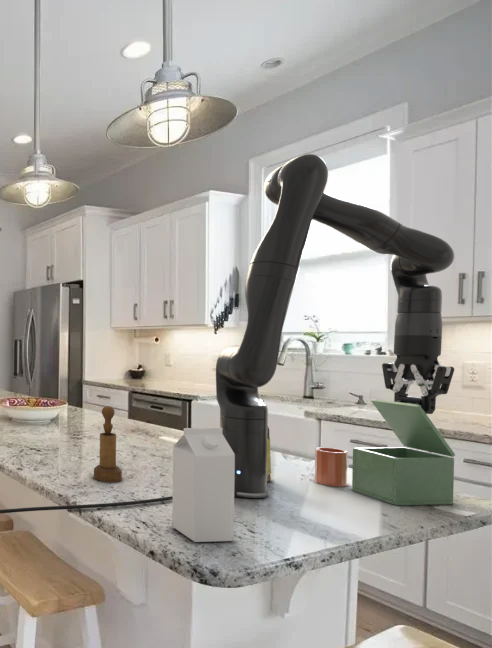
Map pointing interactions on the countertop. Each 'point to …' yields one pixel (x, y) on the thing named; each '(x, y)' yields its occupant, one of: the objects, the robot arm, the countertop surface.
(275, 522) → the countertop surface
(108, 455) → the brown wooden tall piece
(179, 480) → the milk carton
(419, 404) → the lid
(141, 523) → the countertop surface
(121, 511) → the countertop surface
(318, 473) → the cup
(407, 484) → the box
